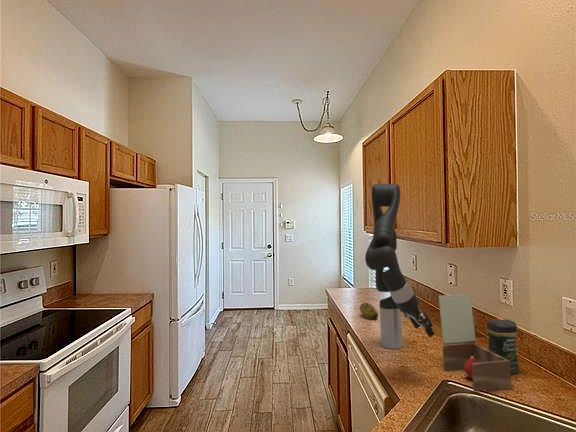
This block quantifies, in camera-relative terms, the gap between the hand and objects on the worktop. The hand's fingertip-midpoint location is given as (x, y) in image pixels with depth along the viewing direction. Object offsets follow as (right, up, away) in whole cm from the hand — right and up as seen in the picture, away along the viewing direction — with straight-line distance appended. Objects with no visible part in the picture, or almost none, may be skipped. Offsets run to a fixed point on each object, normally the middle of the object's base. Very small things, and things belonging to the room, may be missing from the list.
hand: (424, 331), depth 131 cm
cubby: (+16, -15, -5) cm, 23 cm away
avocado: (-3, -18, +79) cm, 81 cm away
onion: (+15, -16, -5) cm, 22 cm away
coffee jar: (+29, -15, +1) cm, 33 cm away
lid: (+14, +3, +5) cm, 15 cm away
